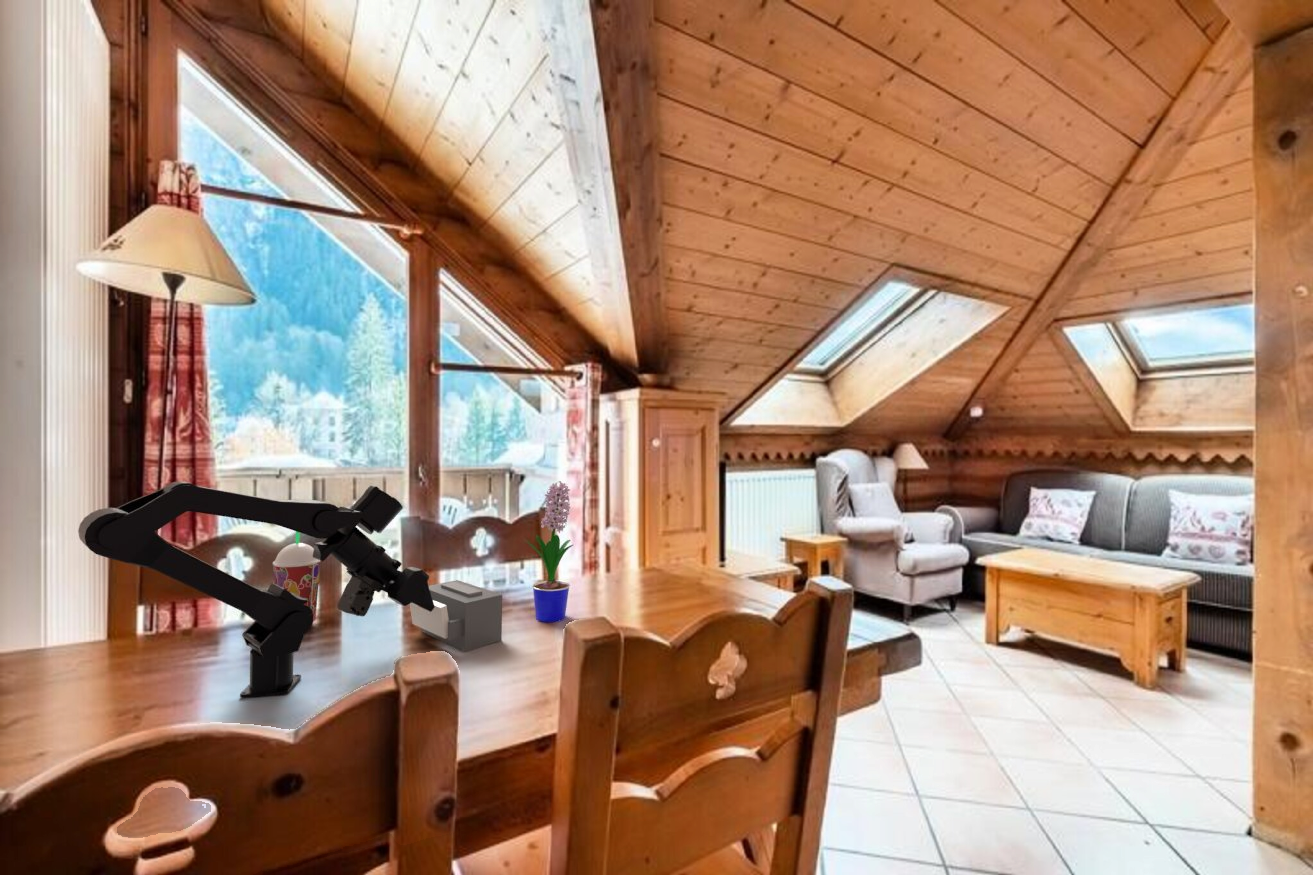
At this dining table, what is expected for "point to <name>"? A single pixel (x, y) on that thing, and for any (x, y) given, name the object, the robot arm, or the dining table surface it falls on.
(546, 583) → the hyacinth
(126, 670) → the dining table surface
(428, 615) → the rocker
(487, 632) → the box
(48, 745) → the dining table surface
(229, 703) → the dining table surface
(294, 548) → the smoothie
